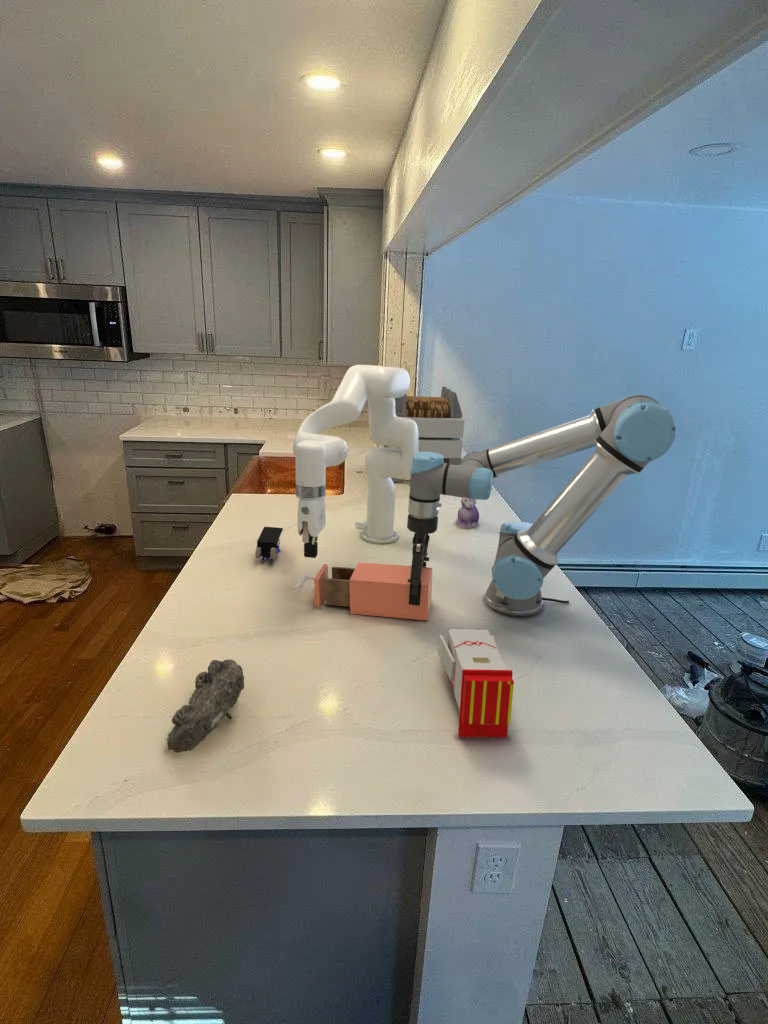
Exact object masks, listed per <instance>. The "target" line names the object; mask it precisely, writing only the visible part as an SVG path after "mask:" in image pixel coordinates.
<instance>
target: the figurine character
mask: <svg viewBox="0 0 768 1024" xmlns="http://www.w3.org/2000/svg"><path fill="white" fill-rule="evenodd" d="M283 529H284V528H283V527H276V526H275V527H274V526H263V528H262V530H261V532H260V535H259V537H258V539H257V541H256V548H255V552H254V558H255V559H256V560H260V564H263V563H264V561H265V560H270V561H269V564H272V563H273V562H274V560H275V559H276V558H277V557H278V554H279V553H280V552H281V549H280V546H281V539H280V538H281V535H282V533H283V531H284V530H283Z"/></svg>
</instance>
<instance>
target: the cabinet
mask: <svg viewBox="0 0 768 1024" xmlns="http://www.w3.org/2000/svg"><path fill="white" fill-rule="evenodd" d="M411 566H412V565H401V564H387V563H374V562H373V563H372V562H362V561H361V562H360V561H359V562H358V563H357V564H356V566H355V567H354V568H355V570H354V572H353V574H352V576H351V578H350V607H349V614H350V615H362V616H372V617H384V618H395V619H405V620H406V619H407V620H417V621H428V620H429V614H430V610H431V603H432V595H433V594H432V592H433V591H432V590H433V567H429V566H428V567H427V566H426V567H422V575H421V581H422V582H421V595H420V605H419V606H417V605H409V593H410V582H408V579H410V576H411Z"/></svg>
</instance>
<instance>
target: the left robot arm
mask: <svg viewBox="0 0 768 1024" xmlns="http://www.w3.org/2000/svg"><path fill="white" fill-rule="evenodd" d="M410 385H411V377H410V374H409V372H408V371H407V370H406V368H404V367H395V366H386V365H385V366H384V365H373V364H354V365H352V366H350V367H349V368H348V369H347V370H346V372H345V374H344V376H343V378H342V379H341V381H340V384H339V386H338V387H337V389H336V392H335V393H334V395H333V397H332V400H330V401H329V402H328V403H325V404H324V405H322V406H320V407H319V408H317V409H316V410H315V411H313V412H311V413H310V414H309V415H308V416H307V417H306V418H305V419H304V420H303V422H302V423H301V425H300V426H299V429H298V431H297V432H296V435H295V437H294V440H293V445H292V452H293V455H294V456H295V457H294V458H295V461H294V462H295V497H296V498H298V501H297V502H298V504H297V534H298V535H299V536H300V537H301V536H302V537H301V538H302V539H301V540H302V541H301V542H302V543H303V556H304V558H310V559H311V558H312V559H316V558H317V556H318V551H319V550H318V545H319V544H318V541H319V535H320V533H321V532H322V531H323V530H324V528H325V527H326V523H327V522H326V502H325V501H326V500H325V497H326V495H327V493H326V492H327V491H326V490H327V488H326V487H327V468H330V467H336V466H340V465H341V464H343V463H344V462H345V460H347V457H348V456H349V455H348V454H349V447H348V443H347V441H345V439H343V438H341V437H339V436H333V435H328V434H327V435H326V434H321V433H323V432H325V431H326V430H328V429H331V428H335V427H338V426H343V425H346V424H350V423H352V422H354V421H356V420H358V418H359V417H360V416H361V413H362V411H363V409H364V407H365V405H366V402H367V407H368V434H369V439H370V441H371V442H372V443H373V444H375V445H379V446H374V447H372V448H370V449H368V451H367V452H366V455H365V460H364V462H365V463H364V464H365V470H366V478H367V491H366V519H365V520H366V521H364V522H362V521H355V522H354V527H355V529H356V530H361V534H360V535H361V538H362V539H363V540H364V541H366V542H368V543H373V544H389V543H393V542H395V541H397V540H398V537H399V534H398V532H397V531H396V530H395V528H394V527H395V510H396V509H395V508H396V507H395V506H396V491H397V490H396V485H395V482H393V481H392V479H391V478H397V479H402V480H405V481H406V480H407V481H410V478H411V473H410V471H411V468H412V460H413V456H414V455H415V454H416V453H418V449H419V431H418V426H417V424H416V422H415V421H414V420H412V419H409V418H401V417H397V416H396V414H395V400H394V398H400V397H403V396H404V395H405V394H406V393H407V394H408V392H409V389H410ZM384 446H391V447H398V448H400V449H401V450H400V449H394V448H386V447H384Z"/></svg>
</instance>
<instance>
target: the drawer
mask: <svg viewBox="0 0 768 1024" xmlns="http://www.w3.org/2000/svg"><path fill="white" fill-rule="evenodd" d="M355 568H356V567H343V566H332V567H331V578H329V564H328V563H323V565H322V566H321V567H320V569H319V571H318V572H317V574H316V575H315V576H309V575H307V574H306V573H305V574H302V575H301V577H300V578H299V580H298V582H297V583H296V584H295V586H294V587H293V589H292V590H293V592H294V593H299V592H305V593H314V606H315V607H321V605H322V603H323V601H324V603H325V606H326V605H328V606H338V607H339V606H340V607H349V608H350V578H351V576H352V574H353V572H354V570H355ZM307 580H311V581H312V580H313V583H314V584H313V587H314V588H303V586H304V584H305V583H306V581H307Z"/></svg>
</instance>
